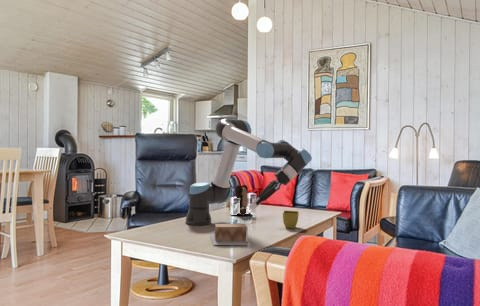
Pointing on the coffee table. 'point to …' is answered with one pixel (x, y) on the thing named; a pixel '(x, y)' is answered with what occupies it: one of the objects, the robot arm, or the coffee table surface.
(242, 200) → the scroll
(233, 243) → the mat
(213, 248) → the coffee table surface
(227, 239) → the walnut block
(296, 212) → the flower pot
